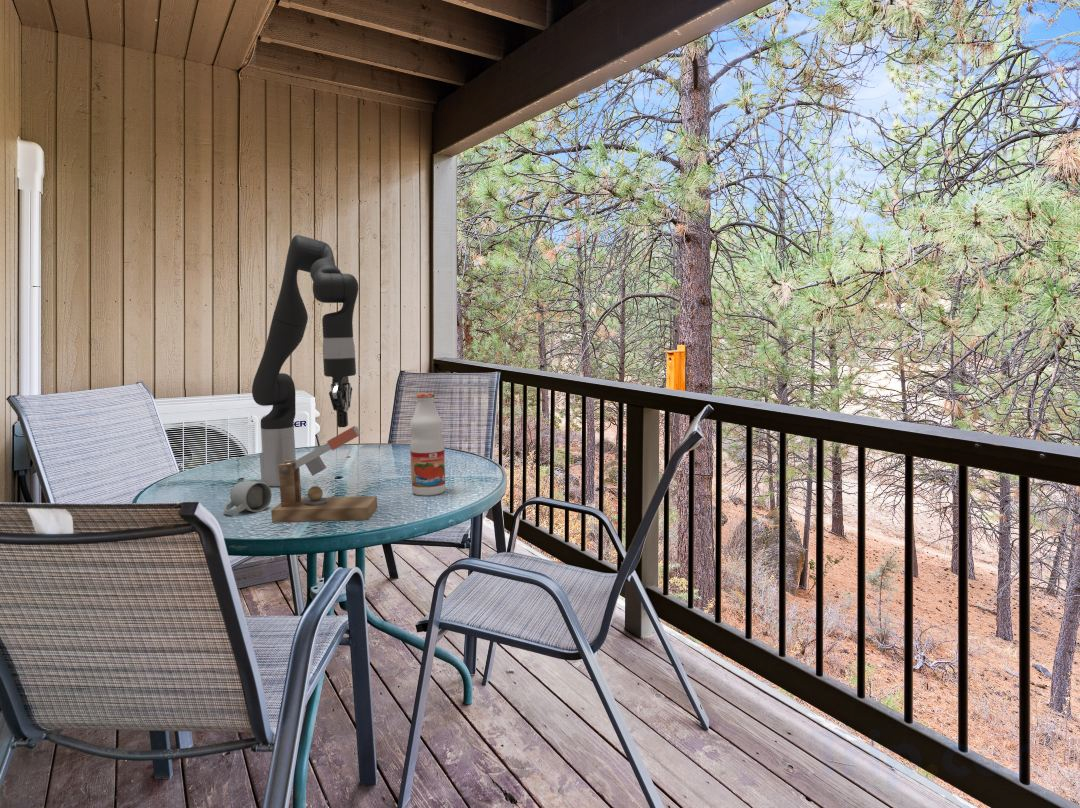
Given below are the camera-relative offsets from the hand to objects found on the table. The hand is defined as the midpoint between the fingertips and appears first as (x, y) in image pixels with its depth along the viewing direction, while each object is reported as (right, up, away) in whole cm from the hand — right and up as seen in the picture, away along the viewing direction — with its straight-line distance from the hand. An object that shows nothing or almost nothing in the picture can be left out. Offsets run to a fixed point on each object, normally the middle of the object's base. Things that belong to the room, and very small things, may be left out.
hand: (342, 426), depth 164 cm
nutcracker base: (-5, -22, +2) cm, 23 cm away
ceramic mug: (-27, -22, +7) cm, 36 cm away
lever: (-3, -10, +1) cm, 10 cm away
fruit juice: (+17, -19, +24) cm, 35 cm away
